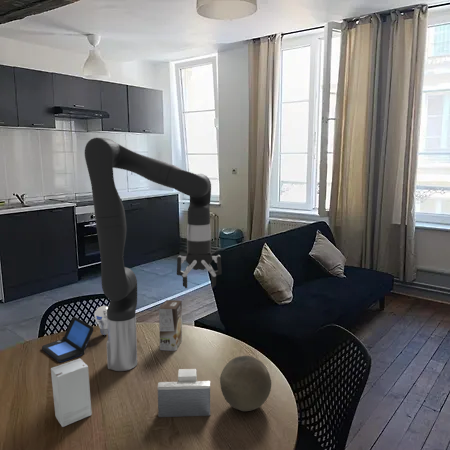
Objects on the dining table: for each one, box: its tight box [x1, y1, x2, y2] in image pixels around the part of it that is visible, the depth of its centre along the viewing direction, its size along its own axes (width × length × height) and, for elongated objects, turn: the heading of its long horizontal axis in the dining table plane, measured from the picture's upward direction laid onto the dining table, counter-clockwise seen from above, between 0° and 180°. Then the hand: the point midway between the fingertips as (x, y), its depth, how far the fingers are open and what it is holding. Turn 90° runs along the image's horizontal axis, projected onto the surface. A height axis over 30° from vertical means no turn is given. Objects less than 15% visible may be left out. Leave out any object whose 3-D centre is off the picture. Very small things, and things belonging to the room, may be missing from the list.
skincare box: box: [50, 357, 93, 428], centre depth 109 cm, size 8×6×15 cm
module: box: [177, 368, 198, 382], centre depth 114 cm, size 5×4×10 cm
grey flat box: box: [157, 380, 211, 418], centre depth 111 cm, size 14×2×9 cm, turn 93°
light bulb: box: [94, 305, 109, 337], centre depth 160 cm, size 7×7×12 cm
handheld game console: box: [41, 316, 94, 363], centre depth 148 cm, size 16×13×9 cm
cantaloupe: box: [219, 355, 272, 412], centre depth 112 cm, size 14×14×15 cm
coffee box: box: [158, 299, 183, 352], centre depth 151 cm, size 9×6×16 cm
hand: (199, 287), depth 131 cm, fingers open, 8 cm apart
